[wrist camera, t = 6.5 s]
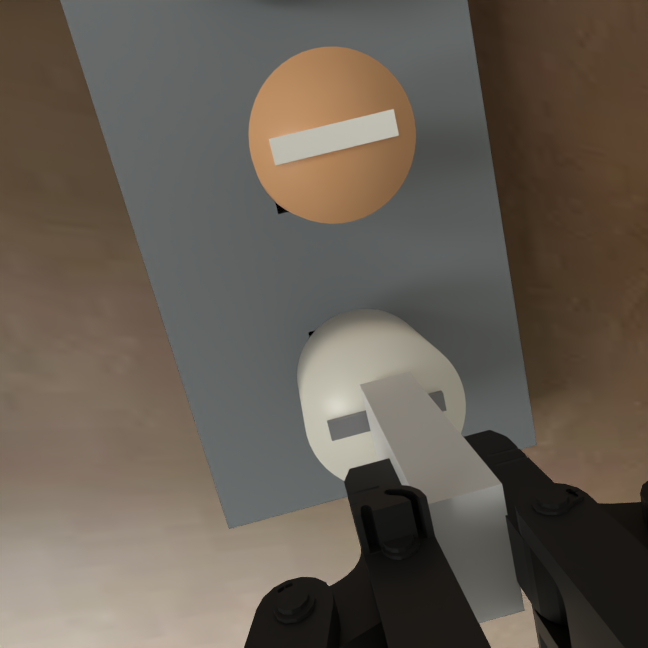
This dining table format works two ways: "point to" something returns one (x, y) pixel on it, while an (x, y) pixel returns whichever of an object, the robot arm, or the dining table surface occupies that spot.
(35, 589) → the dining table surface
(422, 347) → the knob
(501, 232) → the control box
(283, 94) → the pot knob
